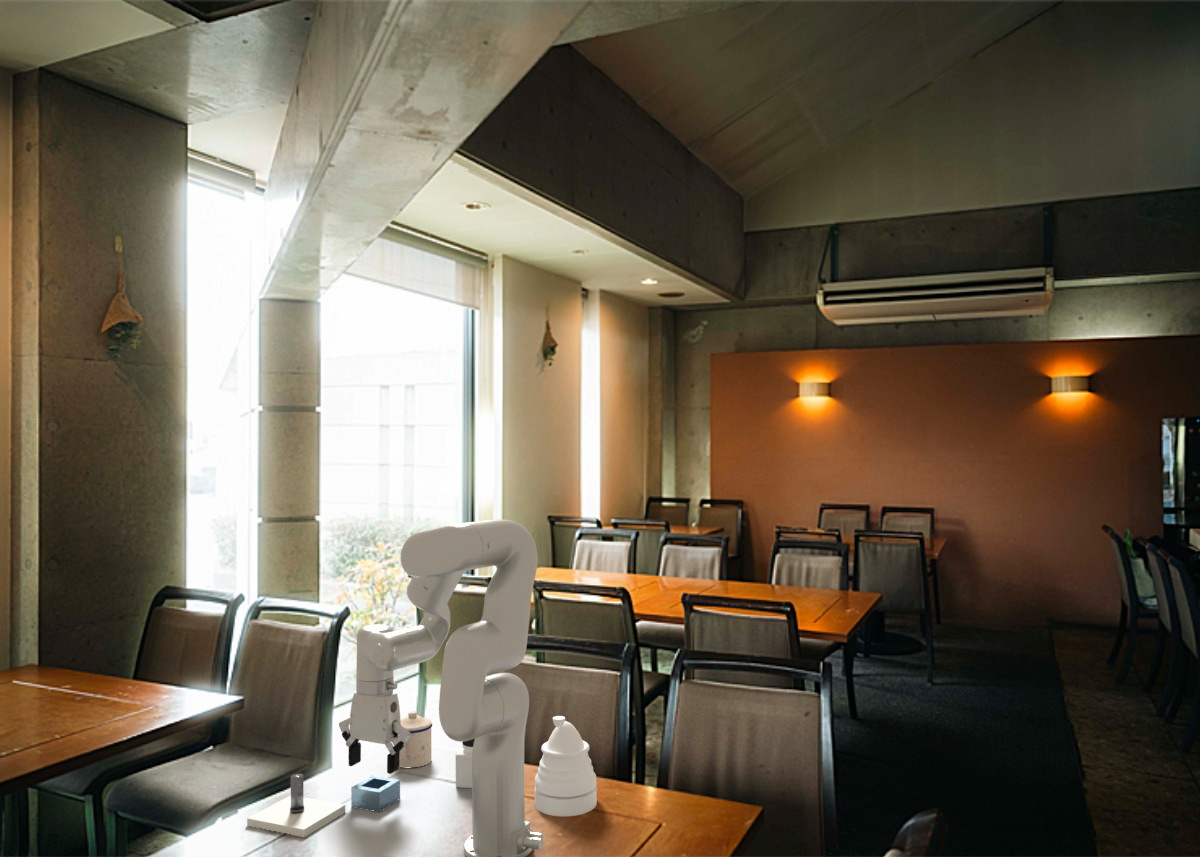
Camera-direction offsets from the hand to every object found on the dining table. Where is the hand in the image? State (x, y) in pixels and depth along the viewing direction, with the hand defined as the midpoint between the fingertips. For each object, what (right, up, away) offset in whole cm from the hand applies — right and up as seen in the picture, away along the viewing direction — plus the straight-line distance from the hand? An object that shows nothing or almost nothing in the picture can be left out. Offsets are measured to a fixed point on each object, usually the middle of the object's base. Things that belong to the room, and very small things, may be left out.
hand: (373, 767), depth 177 cm
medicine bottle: (+20, -7, +10) cm, 24 cm away
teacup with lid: (+3, -8, +21) cm, 23 cm away
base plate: (-13, -7, -8) cm, 17 cm away
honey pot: (+40, -7, -2) cm, 41 cm away
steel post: (-13, -6, -8) cm, 16 cm away
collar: (+1, -7, -1) cm, 7 cm away
